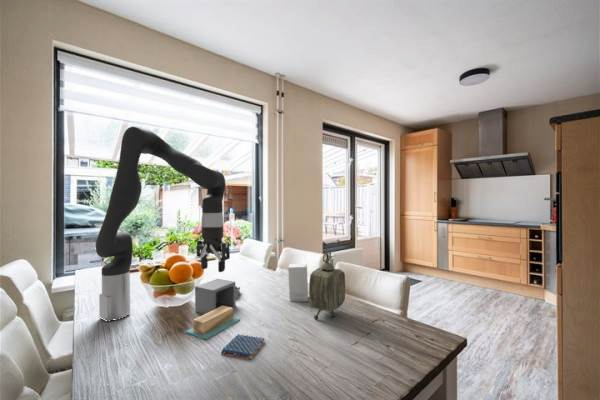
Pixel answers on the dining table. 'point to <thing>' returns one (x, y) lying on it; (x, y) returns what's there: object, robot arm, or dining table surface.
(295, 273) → the skincare box
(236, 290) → the egg carton
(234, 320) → the teal mat
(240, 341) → the woven mat
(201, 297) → the cubby shelf
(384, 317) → the dining table surface
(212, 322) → the oak plank
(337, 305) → the tabletop clock
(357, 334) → the dining table surface
